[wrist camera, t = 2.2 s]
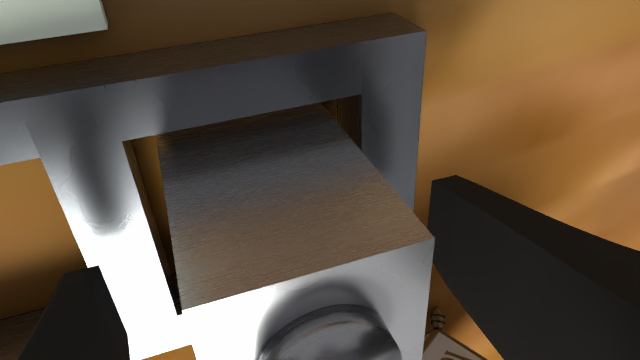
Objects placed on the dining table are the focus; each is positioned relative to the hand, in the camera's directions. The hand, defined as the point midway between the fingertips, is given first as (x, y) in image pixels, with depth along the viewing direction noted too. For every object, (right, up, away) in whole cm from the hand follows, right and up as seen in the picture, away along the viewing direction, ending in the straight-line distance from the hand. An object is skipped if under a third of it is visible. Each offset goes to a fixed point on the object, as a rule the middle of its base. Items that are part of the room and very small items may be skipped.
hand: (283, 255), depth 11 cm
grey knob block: (-1, +2, +3) cm, 3 cm away
